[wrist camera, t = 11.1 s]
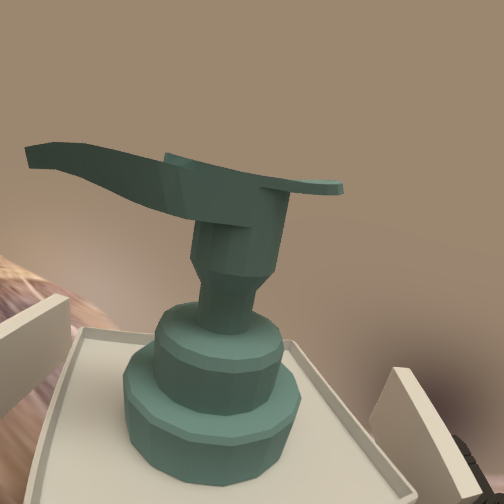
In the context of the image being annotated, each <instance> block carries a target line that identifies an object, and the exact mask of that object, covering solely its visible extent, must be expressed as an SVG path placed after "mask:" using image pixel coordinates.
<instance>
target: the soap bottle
mask: <svg viewBox="0 0 504 504" xmlns="http://www.w3.org/2000/svg"><path fill="white" fill-rule="evenodd" d="M25 152H26V157H27V161H28V165H29V168H31V169H32V168H33V169H56V170H59V171H62V172H66V173H69V174H72V175H76V176H78V177H81V178H83V179H86V180H88V181H90V182H92V183H94V184H97V185H99V186H101V187H103V188H105V189H108V190H110V191H112V192H114V193H116V194H118V195H120V196H122V197H124V198H126V199H128V200H130V201H133V202H135V203H138V204H140V205H143V206H145V207H148V208H151V209H154V210H157V211H160V212H164V213H167V214H170V215H173V216H177V217H180V218H184V219H190V220H195V227H194V233H193V240H192V247H191V254H190V259H191V261H192V264H193V266H194V268H195V270H196V273H197V275H198V277H199V279H200V281H201V287H200V295H199V302H189V303H184V304H179V305H176V306H174V307H172V308H170V309H169V310H167V311H165V312H164V314H163V315H162V317H161V319H160V321H159V323H158V325H157V328H156V330H155V334H148V333H137V332H127V331H118V330H110V329H101V328H94V327H86V326H84V327H81V328H79V331H78V333H77V335H76V337H75V340H74V342H73V345H72V347H71V349H70V352H69V354H68V357H67V359H66V362H65V364H64V367H63V369H62V372H61V375H60V377H59V380H58V383H57V385H56V388H55V391H54V394H53V396H52V399H51V402H50V405H49V408H48V411H47V414H46V417H45V420H44V424H43V427H42V430H41V433H40V437H39V440H38V444H37V447H36V451H35V455H34V458H33V462H32V466H31V470H30V475H29V479H28V483H27V488H26V493H25V498H24V503H23V504H414V503H415V502H416V501H417V498H418V494H417V492H416V490H415V489H414V488H413V487H412V486H411V484H410V483H409V482H408V481H407V480H406V478H405V477H404V476H403V475H402V474H401V472H400V471H399V470H398V469H397V468H396V467H395V465H394V464H393V463H392V462H391V460H390V459H389V458H388V457H387V456H386V454H385V453H384V452H383V451H382V450H381V448H380V447H379V446H378V445H377V444H376V442H375V441H374V440H373V439H372V437H371V436H370V435H369V434H368V433H367V431H366V430H365V429H364V428H363V426H362V425H361V424H360V423H359V422H358V420H357V419H356V418H355V417H354V415H353V414H352V413H351V412H350V411H349V409H348V408H347V407H346V405H345V404H344V403H343V402H342V401H341V399H340V398H339V397H338V395H337V394H336V393H335V392H334V390H333V389H332V388H331V387H330V385H329V384H328V383H327V382H326V380H325V379H324V378H323V377H322V375H321V374H320V373H319V372H318V370H317V369H316V368H315V367H314V365H313V364H312V363H311V362H310V360H309V359H308V358H307V356H306V355H305V354H304V353H303V351H302V350H301V349H300V347H299V346H298V345H297V344H296V342H294V341H292V340H282V337H281V334H280V331H279V328H278V327H277V326H276V325H274V324H273V323H272V322H271V321H270V320H269V319H267V318H266V317H264V316H262V315H260V314H257V313H256V312H254V311H252V308H253V303H254V298H255V293H256V290H257V289H258V288H259V287H260V286H261V285H262V284H263V283H264V282H265V281H266V280H267V279H268V278H269V277H270V275H272V274H273V272H274V271H275V267H276V262H277V257H278V252H279V247H280V243H281V238H282V232H283V228H284V222H285V217H286V212H287V207H288V202H289V196H290V192H294V193H303V194H314V195H341V194H343V193H344V192H343V184H342V182H340V181H332V180H287V179H281V178H274V177H268V176H261V175H256V174H250V173H245V172H240V171H236V170H232V169H228V168H224V167H219V166H215V165H211V164H207V163H203V162H199V161H195V160H191V159H188V158H184V157H180V156H177V155H173V154H170V153H165V157H164V161H163V162H161V161H157V160H153V159H149V158H144V157H140V156H137V155H132V154H129V153H125V152H121V151H117V150H113V149H108V148H103V147H99V146H94V145H90V144H84V143H66V142H65V143H64V142H52V143H45V144H40V145H34V146H28V147H25Z"/></svg>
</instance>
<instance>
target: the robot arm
mask: <svg viewBox="0 0 504 504" xmlns="http://www.w3.org/2000/svg"><path fill="white" fill-rule="evenodd" d="M71 347H72V338H71V323H70V302H69V298H68V297H65V296H62V295H59V294H57V293H56V294H54V295H52V296H50V297H48V298H46V299H44V300H42V301H40V302H39V303H37V304H35V305H33V306H31V307H29V308H28V309H26V310H24V311H22V312H20V313H18V314H17V315H15V316H13V317H11V318H9V319H8V320H6V321H4V322H2V323H0V419H1V418H2V417H3V416H4V415H5V414H7V413H8V412H9V411H10V410H11V409H12V408H13V407H14V406H15V405H16V404H17V403H18V402H20V401H21V400H22V399H23V398H24V397H25V396H26V395H27V394H28V393H30V392H31V391H32V390H33V389H34V388H35V387H36V386H37V385H38V384H40V383H41V382H42V381H43V380H44V379H45V378H46V377H47V376H49V375H50V374H51V373H52V372H53V371H54V370H55V369H56V368H58V367H59V366H60V365H61V364H62V363H63V362H64V361H66V359H67V357H68V354H69V352H70V349H71ZM369 423H370V426H371V429H372V432H373V435H374V438H375V441H376V444H377V445H378V446H379V447H380V448H381V450H382V451H383V452H384V453H385V454H386V456H387V457H388V458H389V459H390V460H391V462H392V463H393V464H394V465H395V467H396V468H397V469H398V470H399V471H400V472H401V474H402V475H403V476H404V477H405V478H406V480H407V481H408V482H409V483H410V484H411V486H412V487H413V488H414V489H415V490H416V492H417V494H418V498H417V501H416V502H415V503H414V504H504V494H503V493H496V494H494V492H493V491H492V489H491V487H490V485H489V483H488V482H487V480H486V478H485V476H484V475H483V473H482V471H481V469H480V468H479V466H478V464H476V461H475V459H474V457H473V456H471V452H470V451H469V449H468V448H467V446H466V444H465V443H464V442H463V441H462V440H461V439H460V438H458V437H457V436H456V435H451V434H450V433H449V431H448V430H447V428H446V426H445V424H444V423H443V421H442V419H441V418H440V416H439V414H438V413H437V411H436V410H435V408H434V406H433V405H432V403H431V402H430V400H429V398H428V397H427V395H426V394H425V392H424V391H423V389H422V387H421V386H420V384H419V383H418V381H417V379H416V378H415V376H414V375H413V373H412V372H411V370H410V369H409V368H400V367H393V368H392V370H391V373H390V375H389V377H388V380H387V382H386V384H385V386H384V388H383V391H382V393H381V395H380V397H379V399H378V401H377V404H376V405H375V408H374V410H373V412H372V414H371V416H370V418H369Z"/></svg>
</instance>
